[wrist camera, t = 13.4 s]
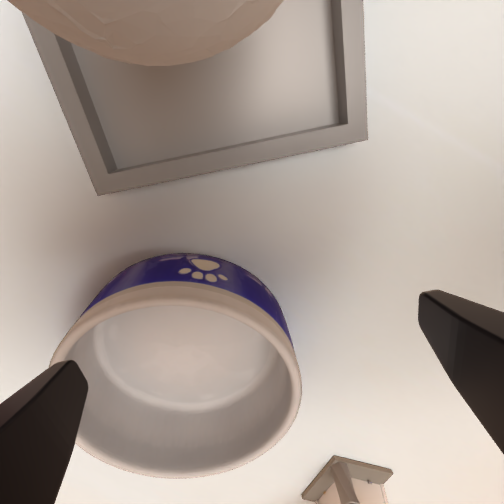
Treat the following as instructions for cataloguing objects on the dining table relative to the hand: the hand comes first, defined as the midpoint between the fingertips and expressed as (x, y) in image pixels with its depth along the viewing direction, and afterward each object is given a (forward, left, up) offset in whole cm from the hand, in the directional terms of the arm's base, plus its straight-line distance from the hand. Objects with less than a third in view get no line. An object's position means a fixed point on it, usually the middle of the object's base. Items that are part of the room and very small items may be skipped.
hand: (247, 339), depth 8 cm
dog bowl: (-10, +6, -13) cm, 18 cm away
